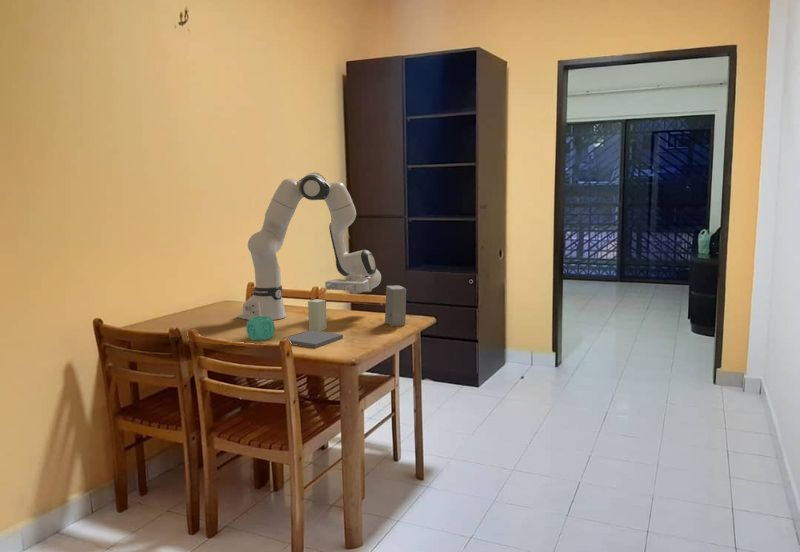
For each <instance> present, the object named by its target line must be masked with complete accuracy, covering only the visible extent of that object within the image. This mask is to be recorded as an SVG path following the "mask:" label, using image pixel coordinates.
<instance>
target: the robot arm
mask: <svg viewBox="0 0 800 552" xmlns="http://www.w3.org/2000/svg"><path fill="white" fill-rule="evenodd" d="M325 178H326V177H324V176H323V175H322V174H320V173H317V172H310V173H307V174H306V175H305V176H304V177H302V178H301V179H299V180H295V179H293V178H285V179H283V180H282V181H281V182H280V184H279V185H278V187H277V189H276V190H275V192H274V193H273V196H272V198H271V200H270V203H269V205H268V207H267V209H266V211H265V213H264V220H263V224H262V227H261V229H260V231H256V232H255V233H253V234H252V235H251V236H250V238H249V239H248V241H247V249H248V251H249V252H250V255H251V261H252V264H253V269H254V278H255V279H254V282H255V286H254V287H252V288H251V290H250V291H251V292H252V295H251V296H250V297H249V298H248V299H247V300H246V301H245V302H244V303H243V305H242V313H241V312H240V313H239V314H237V318H239V319H242V320H243V319H244V320H247V321H248V320H249V319H250V318H252V317H256V316H269V317H270V318H271V319H272V320H273V321H275V320H280V319H285V318H286V317H287V314H286V310H285V305H284V300H283V286H282V280H281V267H280V265H279V263H278V256H277V253H278V252H279V251H280V250H281V249H282V247H283V244H284V240H285V237H286V235H287V232H288V228H289V224H290V222H291V220H292V218H293V216H294V214H295V211H296V209H297V208H298V205H299V203H300V202H301V200H302V199H303V198H305V199H306V200H309V201H324V202H325V204H326V206H327V208H328V211H329V214H330V223H329V227H328V229H329V234H330V240H331V243H332V249H333V251H334V256H335V266H336V269H337V271H338V273H339V274H340V275H341V276H343V277H345V279H342V278H341V279H340V278H339V279H335V278H334V279H330V280H326V281H325V282H324V286H325V287H324V288H325V290H331V291H334V290H335V291H345V292H349V293H350V294H354V295H356V294H361V293H364V292H365V293H371V292H372V291H373V289H375V288H377V287H378V286H379V284H380V283H381V281H382V274H381V272H380V271H379V270H378V268H377V261H376V258H375V256H374V255H373V253H372V252H371V251H370V250H367V249H362V250H357V251H354V252H350V253H349V252H348V250H347V247H346V244H345V239H344V234H345V233H344V232H345V230H347V228H348V227H350V226H351V225H352V224H353V223H354V221H355V220H356V217H357V210H356V206H355V204H354V202H353V199H352V197H351V194H350V192H349V191H348V189H347V187H346V185H345V184H344V183H343V182H341V181H333V182H328V181H326V179H325Z"/></svg>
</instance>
